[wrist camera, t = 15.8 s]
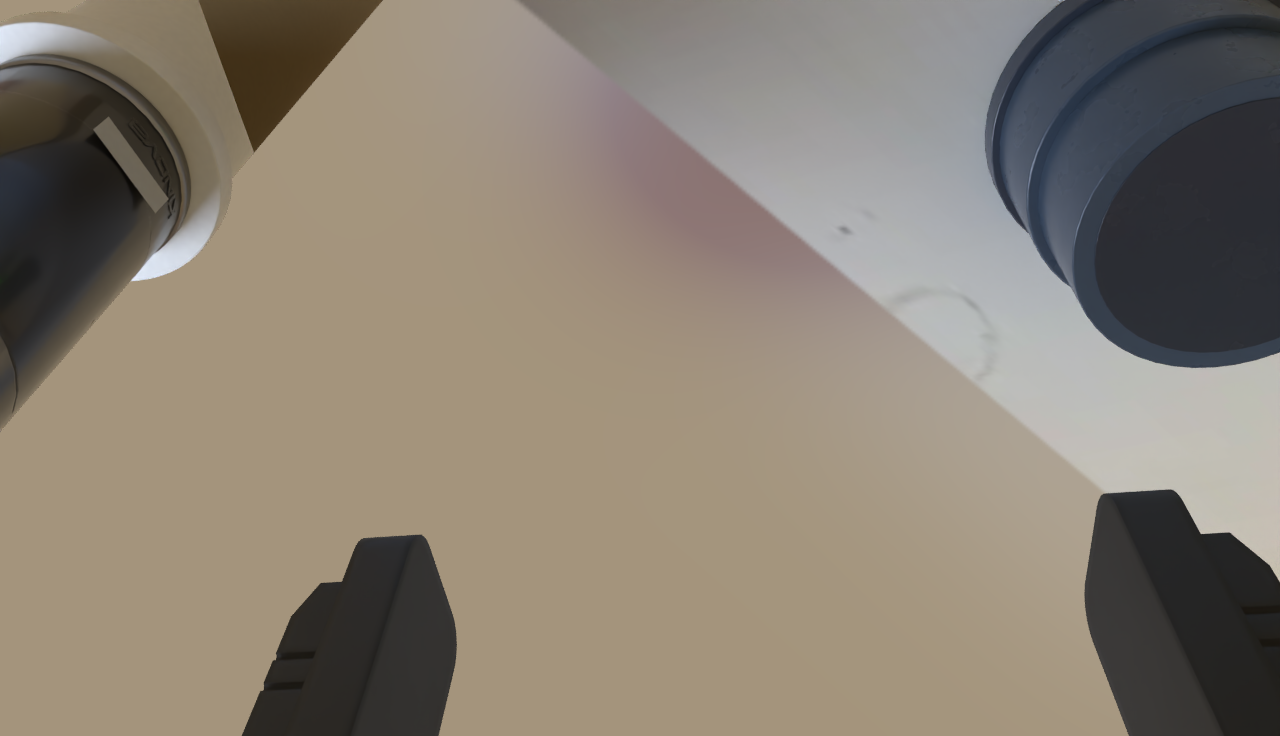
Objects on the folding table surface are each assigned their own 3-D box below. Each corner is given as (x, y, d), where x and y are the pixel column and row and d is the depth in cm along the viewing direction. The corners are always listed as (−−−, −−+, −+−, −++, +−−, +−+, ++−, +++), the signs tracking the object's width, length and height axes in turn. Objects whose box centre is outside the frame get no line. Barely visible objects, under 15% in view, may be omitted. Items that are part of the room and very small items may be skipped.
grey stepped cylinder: (977, 260, 46) (1035, 397, 38) (993, -20, 39) (1069, 75, 31) (1267, 234, 45) (1392, 371, 37) (1335, -60, 38) (1508, 28, 30)
